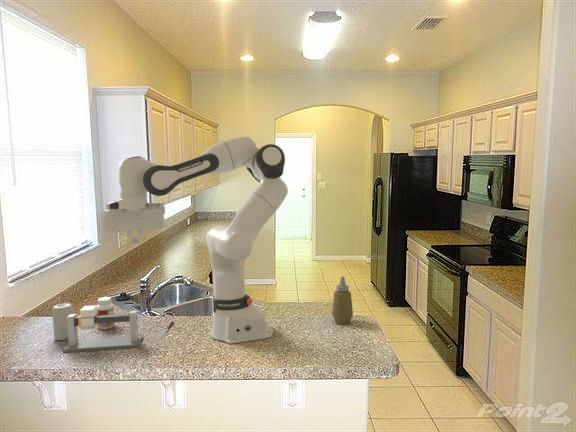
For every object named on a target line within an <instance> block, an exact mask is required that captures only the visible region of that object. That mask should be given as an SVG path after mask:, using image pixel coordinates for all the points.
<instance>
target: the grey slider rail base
mask: <svg viewBox="0 0 576 432" xmlns="http://www.w3.org/2000/svg"><path fill="white" fill-rule="evenodd" d="M113 322H114V323H122V322H123V323H124V322H126V323H127V322H129V331H130V332H129V333H130V335H117V336H116V335H115V336H101V337H87V338H86V337H85V338H78V337H79V336H78V328H81V319H80V314H78V315H77V313H73V314H70V315H69V316H68V317H67V326H68V340H67V341H68V343H67V344H66V345H65V346H64V348H63V349H62V353H75V352H89V351H90V352H93V351H105V350H108V351H109V350H119V349H121V350H122V349H134V348H139V347H140V345H141V343H142V340H143V338H144V334H139V323H138V322H139V320H138V310H135V309H134V310H130V312H129V313H123V314H122V313H121V314H114V315H103V316H95V317H94V324H97V323H113Z"/></svg>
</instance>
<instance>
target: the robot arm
mask: <svg viewBox="0 0 576 432" xmlns="http://www.w3.org/2000/svg"><path fill="white" fill-rule="evenodd" d="M285 165H286V156H285V152H284V151H283V149H282V148H281V147H280V146H278V145H276V144H273V143H272V144H270V143H269V144H265V145H263V146H261V147H260V148H258V147H257V144H256V143H255V141H254V140H253V139H252V138H251V137H250V136H240V137H239V136H238V137H233V138H230V139H226V140H222V141H220V142H217V143H215V144H213V145H211V146H209V147H208V148H206V149H204V151H203V152H202V153H201V154H199V155H198V156H196V157H194V158H191V159H188V160H186V161H183V162H179V163H177V164H174V165H163V164H162V165H159V164H156V163H153V162H152V161H149V160H147V159H146V158H144V157H143V156H141V155H139V156H131V157H126V158H124V159H122V160H121V161H120V163H119V167H118V179H119V180H118V182H119V185H120V186H119V187H120V193H119V199H116V200H113V201H111V202H108V203H106V205H105V208H106V211H105V213H104V216H103V218H104V219H103V228H104V230H105V231H106V232H112V231H113V232H114V231H116V232H117V231H126V233H127V236H128V237H129V238H130V243H131V244H137V243H138V244H139V243H141V241H142V240H141V238H142V236H143V233H144V230H146V231H147V230H163V229H164V228H165V227H166V219H165V214H166V209H165V205H163V204H162V203H160V202H148V193H149V194H150V195H152V196H157V197H161V196H166V195H168V194H169V193H171V192H172V191H173V190H174V189H175V188H176V187H177V186H178V185H180V184H181V183H184V182H187V181H190V180H193V179H196V178H198V177H200V176H201V177H202V176H205V175H220V174H225V173H228V172H231V171H233V170H236V169H240V168H242V167H244V168H245V167H246V169H247V171H248V172H249V173H250V175H251V176H252V178H253V179H254V180H256V181H257V182H258V186H256V188H255V189H254V190H253V191H252V192H251V193H250V194H249V196H248V197H246V199H245V200H244V201H243V202H242V203H241V204H240V205H239V207H237V210H236V214H235V216H234V217H233V220H232V221H231V222H230V224H229V225H225V224H224V225H217V226H214V227H211V228H210V229H209V230H208V231H207V233H206V236H205V243H206V246H207V250H208V256H209V262H210V265H211V270H212V271H211V272H212V281H213V283H212V284H213V285H212V286H213V296H212V312H213V320H212V326H211V332H210V337H211V338H212V339H215V340H217V341H221V342H225V343H227V344H229V345H231V344H238V343H244V342H251V341H258V340H264V339H265V340H266V339H270V338H271V337H272V336H273V334H274V330H273V326H272V325H271V324H270V323H269V322H267V319H266V316H265V314H264V313H263V312H262V311H261V310H260V309H258V308H257V307H256V306H254V305H252V304H253V299H252V298H251V296H250V295H249V294H246V293H245V292H246V291H245V290H246V289H245V272H244V270H243V268H242V264H241V262H242V261H244V260H246V259H247V258H248V257H250V255H251V253H252V251H253V244H254V242H255V240H256V238H257V236H258V234H259V233H260V232H261V230H262V228H263V227H264V226H265V225H266V224H267V223H268V221H269V220H270V219H271V218H272V217H273V215H274V214H275V213H276V212H277V211H278V209H279V208H280V207H281V205H282V204H283V202H284V201H285V199H286V197H287V196H288V194H289V189H288V186H287V184H286V182H284V180H283V179H281V177H282V175H284V169H285ZM133 231H138V234H139V235H138V236H137V237H135V236H134V235H133Z"/></svg>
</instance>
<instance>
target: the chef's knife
mask: <svg viewBox="0 0 576 432" xmlns="http://www.w3.org/2000/svg"><path fill="white" fill-rule="evenodd" d="M173 325H174V321H170V323H169V324H168V326H167V327H165V328H162V329H161V330H160V331H159V332H158V334H157V335H156V337H155V338H156V341H157V342H160V341H161V340H162V338H163V337H164V336H165V334H167V333H168V331H169V330H170V328H171V327H172V326H173Z"/></svg>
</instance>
